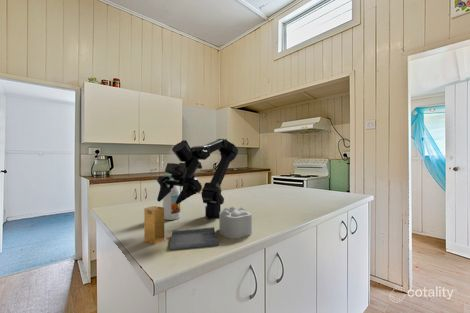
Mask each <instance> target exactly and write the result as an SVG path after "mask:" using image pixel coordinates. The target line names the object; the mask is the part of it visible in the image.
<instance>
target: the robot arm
mask: <svg viewBox="0 0 470 313" xmlns="http://www.w3.org/2000/svg"><path fill="white" fill-rule="evenodd" d="M190 146H191V145H189V143H188V141H187V140H185V139H184V140H181V141H180V142H177V143H176V144H175V145H173V146H172V148H171V151H172V152H173V153H174V155H175V157H176V158H177V159H178V160H179V162H178V163H173V162H171V163H170V162H168V163H166V166H165V169H164V172H165V173H167V174H172V175H171V177H172V178H174V179H173V180H171V179H170V178H169V177H168V176H166V175H159V176H158V177H157V179H156V181H157V183H158V185H159V186H160V187H159V191H158V196H157V199H156V200H157V202H158V203H159V202H161V201H163V198H164V197H165V196H166V195H167V194H169V193H170V192H171V189H172V188H173V187H174V186H178V187H180V188H181V187H182V189H181V191H180V194H179V196H178V198H177V200H176V204H179V203H180V204H181V203H182V202H184V201H186V200H187V199H188V198H190V197H191V196H193V195H196V194H200V193H201V194H200V195H201V199H202V203H203V204H206V206H205V207H204V208H205V209H204V213H205V214H204V216H206V219H217V218H219V213H220V211H221V210H222V209H221V205H224V201H225V198H224V196H223V195H222V187H221V185H222V183H223V180H224V178H225V177H226V173H227V170H228V169H229V165H230V163H231V162H232V161H234V160H235V159H236V157H237V156H238V153H239V149H238V147H237V146H236V145H235V144H234V143H233V142H230V141H229V140H228V139H227V138H217V139H216V140H214V141H211V142H209V143H206V144H204V145H195V146H191V147H190ZM216 151H218V152H219V154H220V160H219V162H218V164H217V167H216V169H215V171H214V173H213V176H212V178H211V180H210V182H205V183H204V185H202V184H201V183H200V181H199V179H198V178H197V177H196V176H195V173H196V171H197V170H202V169H203V165H202V162H200V161H202V160H203V161H205V160H207V159H208V158H209V157H210V156H211V154H213V153H214V152H216Z"/></svg>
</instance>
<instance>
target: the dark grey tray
mask: <svg viewBox="0 0 470 313" xmlns="http://www.w3.org/2000/svg"><path fill="white" fill-rule="evenodd" d="M218 246H220V241H219V238H218V235H217V233H216V230H215V227H214V226H213V227H203V228H187V229H186V228H185V229H176V230H175V229H173V230H171V237H170V243H169V251H174V250H184V249H193V248H194V249H196V248H205V247H206V248H207V247H218Z"/></svg>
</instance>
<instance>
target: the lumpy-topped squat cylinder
mask: <svg viewBox="0 0 470 313" xmlns="http://www.w3.org/2000/svg"><path fill="white" fill-rule="evenodd" d="M252 218H253V217H252V213H251V212H249V211H247V210H246V208H244V207H239V208H238V209H237V208H236V206H231V207H225V208H224V209H221V211H220V213H219V226H218V227H219V234H221V235H222V236H223V237H226V238H229V239H233V240H236V239H240V238H242V237H243V238H244V237H248V236H251V235H252V233H253V232H252V231H253V230H252V223H253V222H252Z"/></svg>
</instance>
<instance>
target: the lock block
mask: <svg viewBox="0 0 470 313" xmlns="http://www.w3.org/2000/svg"><path fill="white" fill-rule="evenodd" d="M143 210H144V214H143V215H144V217H143V218H144V220H143V221H144V242H146V243H149V244H152V243H153V245H156V244H159V243H161V242H164V241H165V219H164V208H163V206H157V205H152V206H149V207H145V208H143ZM158 242H159V243H158Z"/></svg>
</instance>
